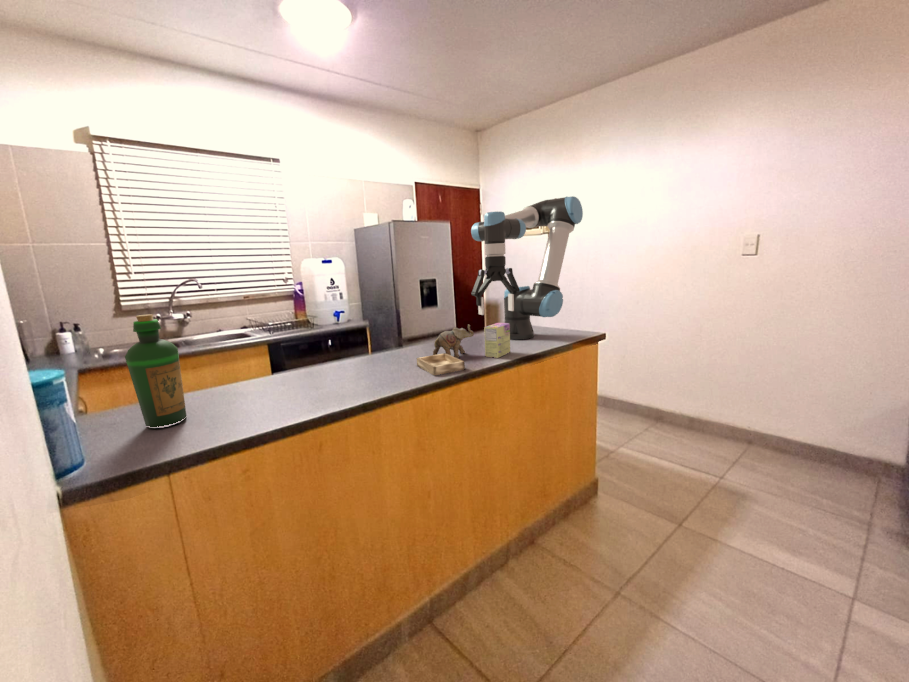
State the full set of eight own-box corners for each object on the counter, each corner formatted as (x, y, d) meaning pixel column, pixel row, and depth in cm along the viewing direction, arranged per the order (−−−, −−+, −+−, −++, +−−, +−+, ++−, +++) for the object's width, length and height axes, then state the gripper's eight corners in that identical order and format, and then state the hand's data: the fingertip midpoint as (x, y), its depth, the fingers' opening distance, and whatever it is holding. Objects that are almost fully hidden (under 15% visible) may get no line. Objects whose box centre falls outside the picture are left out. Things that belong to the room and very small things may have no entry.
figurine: (467, 367, 152) (475, 330, 147) (430, 360, 152) (437, 323, 147) (467, 359, 161) (475, 324, 157) (433, 352, 161) (439, 317, 156)
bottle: (183, 428, 98) (160, 316, 92) (133, 435, 95) (106, 320, 89) (197, 412, 108) (177, 310, 102) (152, 418, 105) (129, 314, 99)
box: (497, 351, 161) (497, 322, 158) (510, 352, 157) (510, 323, 155) (484, 357, 153) (483, 326, 150) (497, 358, 149) (497, 327, 147)
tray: (445, 360, 149) (445, 353, 149) (464, 369, 137) (464, 361, 136) (417, 366, 144) (416, 358, 143) (434, 375, 131) (433, 367, 131)
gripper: (516, 254, 156) (517, 308, 160) (460, 257, 145) (463, 315, 149) (528, 254, 149) (528, 310, 154) (471, 256, 138) (473, 317, 143)
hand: (496, 312), depth 151 cm, fingers open, 13 cm apart
